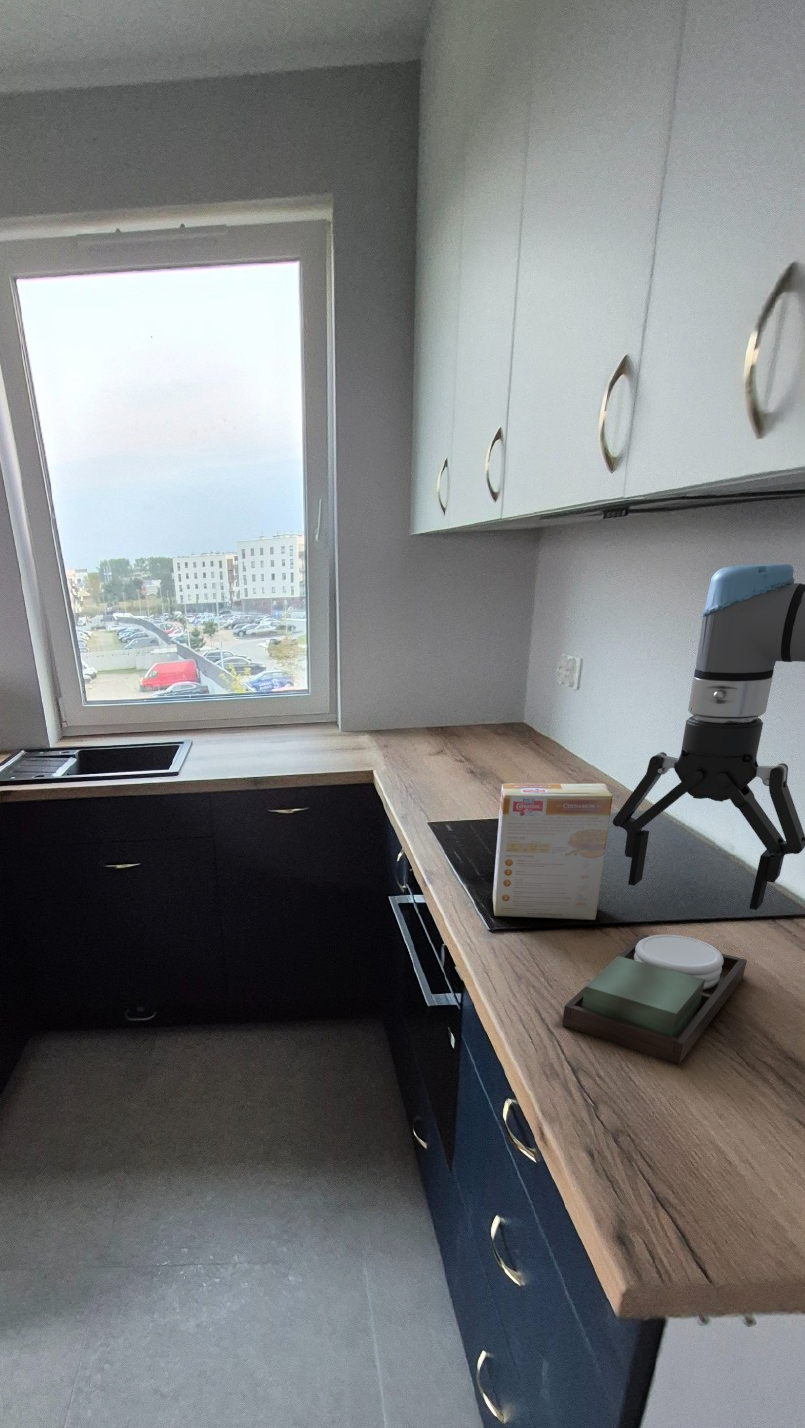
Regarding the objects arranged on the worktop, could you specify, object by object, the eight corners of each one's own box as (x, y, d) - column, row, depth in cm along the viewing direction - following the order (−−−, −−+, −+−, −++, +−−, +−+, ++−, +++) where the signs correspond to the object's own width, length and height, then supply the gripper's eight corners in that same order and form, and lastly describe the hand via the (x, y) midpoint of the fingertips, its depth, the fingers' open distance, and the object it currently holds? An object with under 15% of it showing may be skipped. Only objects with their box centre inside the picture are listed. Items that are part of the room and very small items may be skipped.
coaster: (622, 955, 108) (626, 932, 106) (702, 957, 106) (707, 933, 105) (644, 992, 99) (649, 966, 97) (731, 994, 97) (737, 969, 96)
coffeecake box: (589, 903, 127) (606, 782, 119) (596, 921, 121) (615, 795, 112) (491, 899, 130) (501, 781, 122) (493, 917, 124) (504, 794, 116)
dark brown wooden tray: (742, 978, 103) (751, 942, 101) (678, 1064, 87) (687, 1023, 85) (638, 950, 111) (644, 916, 109) (561, 1025, 95) (567, 987, 93)
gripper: (598, 714, 94) (578, 881, 103) (854, 731, 78) (805, 928, 87) (622, 704, 99) (601, 865, 108) (868, 719, 83) (820, 906, 92)
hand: (692, 893), depth 98 cm, fingers open, 13 cm apart
